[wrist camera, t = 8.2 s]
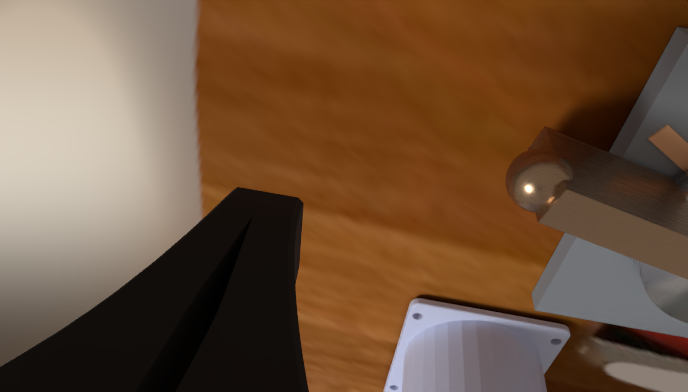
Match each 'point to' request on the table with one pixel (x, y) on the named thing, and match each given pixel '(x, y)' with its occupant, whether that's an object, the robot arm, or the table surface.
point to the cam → (610, 209)
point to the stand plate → (606, 265)
